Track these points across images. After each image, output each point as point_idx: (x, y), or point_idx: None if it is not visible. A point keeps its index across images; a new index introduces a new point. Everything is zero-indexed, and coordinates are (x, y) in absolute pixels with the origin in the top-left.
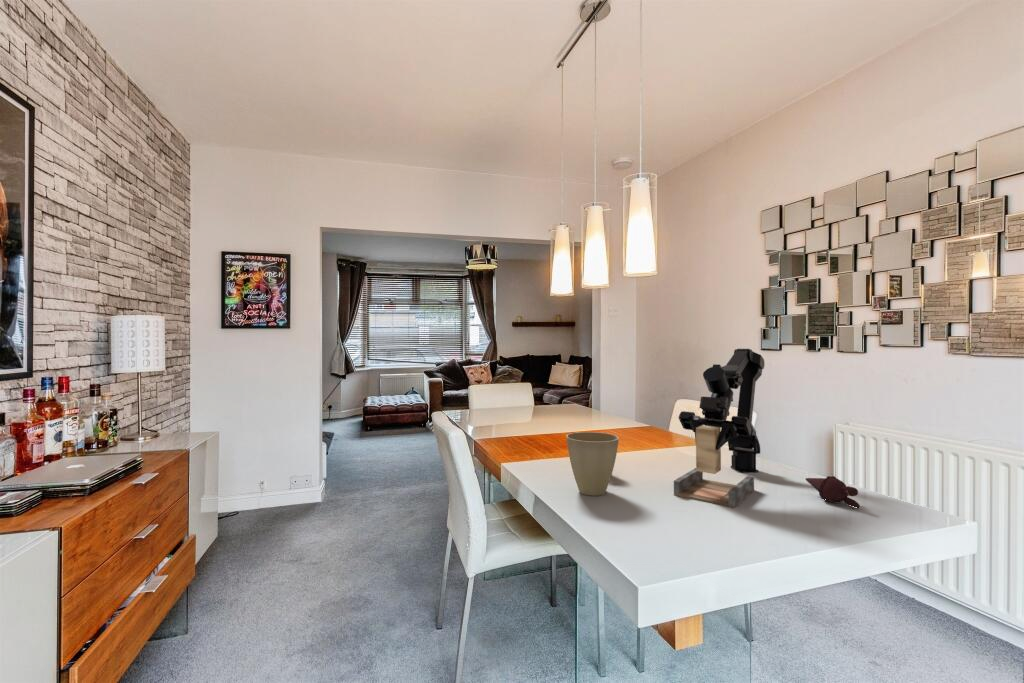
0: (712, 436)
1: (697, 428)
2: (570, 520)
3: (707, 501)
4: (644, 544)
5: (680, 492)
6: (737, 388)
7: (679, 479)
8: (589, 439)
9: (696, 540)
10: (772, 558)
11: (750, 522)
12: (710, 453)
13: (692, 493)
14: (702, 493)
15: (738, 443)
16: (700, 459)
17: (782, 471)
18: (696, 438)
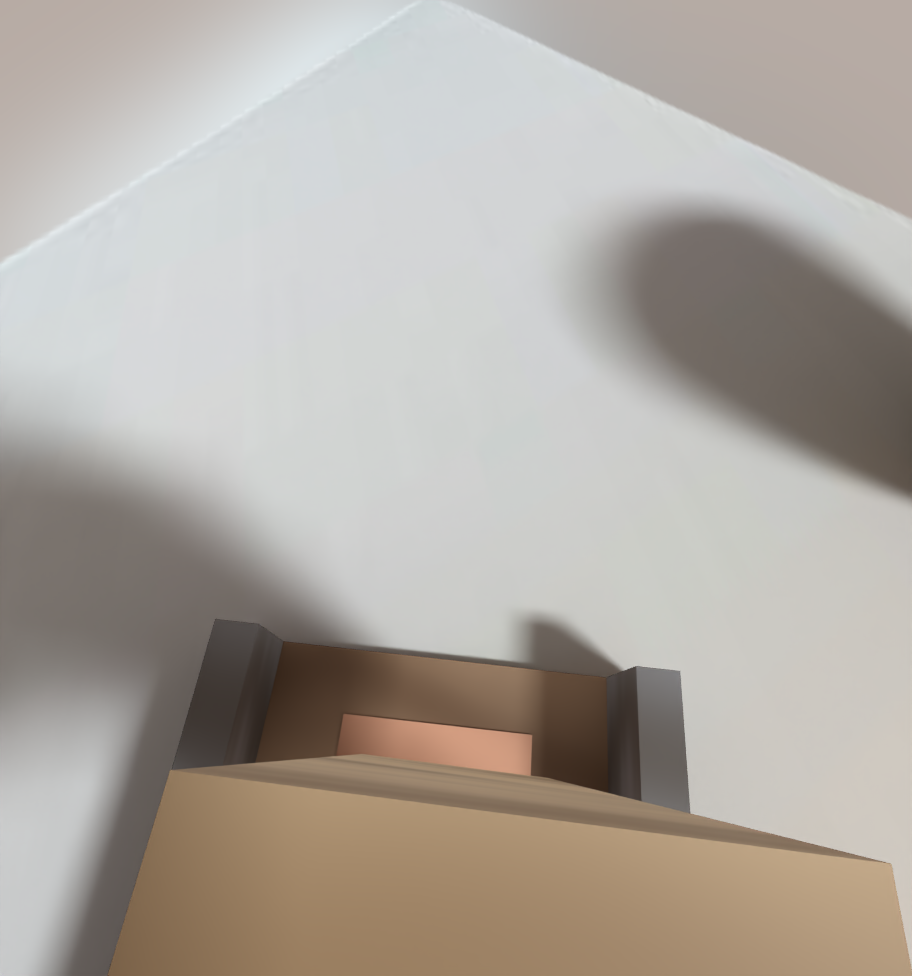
0: (300, 769)
1: (818, 856)
2: (791, 170)
3: (415, 656)
4: (504, 127)
5: (608, 704)
6: None
7: (660, 736)
8: None
9: (370, 205)
10: (131, 191)
11: (174, 455)
12: (389, 765)
13: (539, 756)
14: None
15: None
16: (523, 778)
17: None
18: (688, 816)
